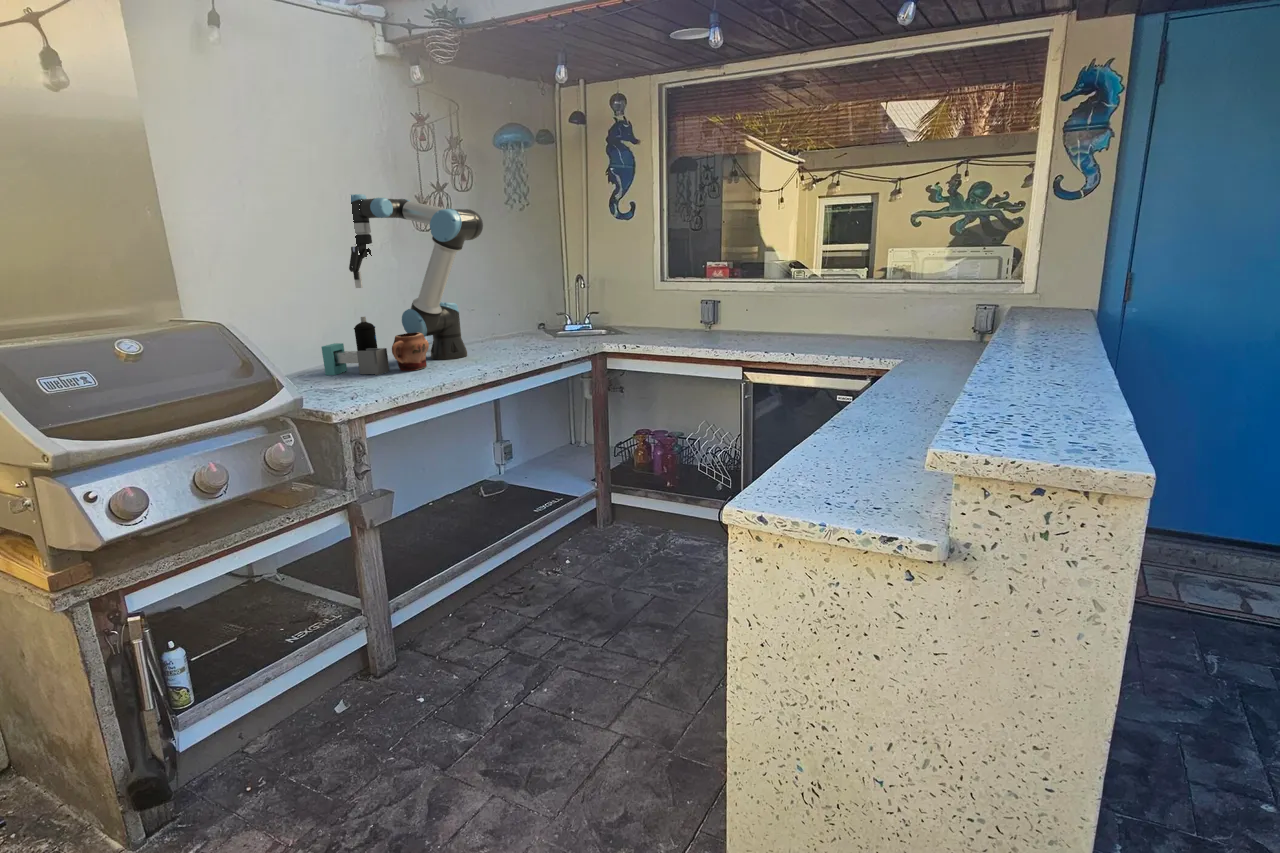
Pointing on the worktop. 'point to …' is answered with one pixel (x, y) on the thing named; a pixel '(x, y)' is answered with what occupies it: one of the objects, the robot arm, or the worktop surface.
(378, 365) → the sleeve
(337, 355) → the grey square peg
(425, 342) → the decorative planter
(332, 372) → the socket block
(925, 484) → the worktop surface
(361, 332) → the aerosol can
